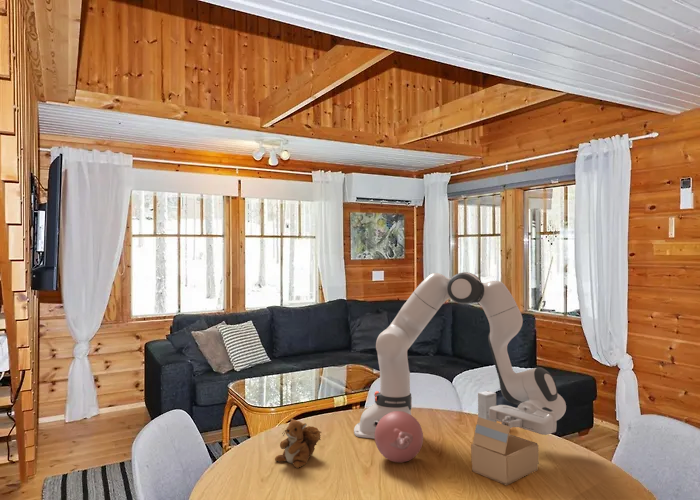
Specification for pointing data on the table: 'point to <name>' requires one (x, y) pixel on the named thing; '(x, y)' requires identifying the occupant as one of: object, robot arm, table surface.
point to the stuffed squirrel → (298, 443)
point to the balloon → (398, 436)
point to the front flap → (491, 435)
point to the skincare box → (486, 404)
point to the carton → (506, 460)
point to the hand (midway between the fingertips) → (505, 424)
